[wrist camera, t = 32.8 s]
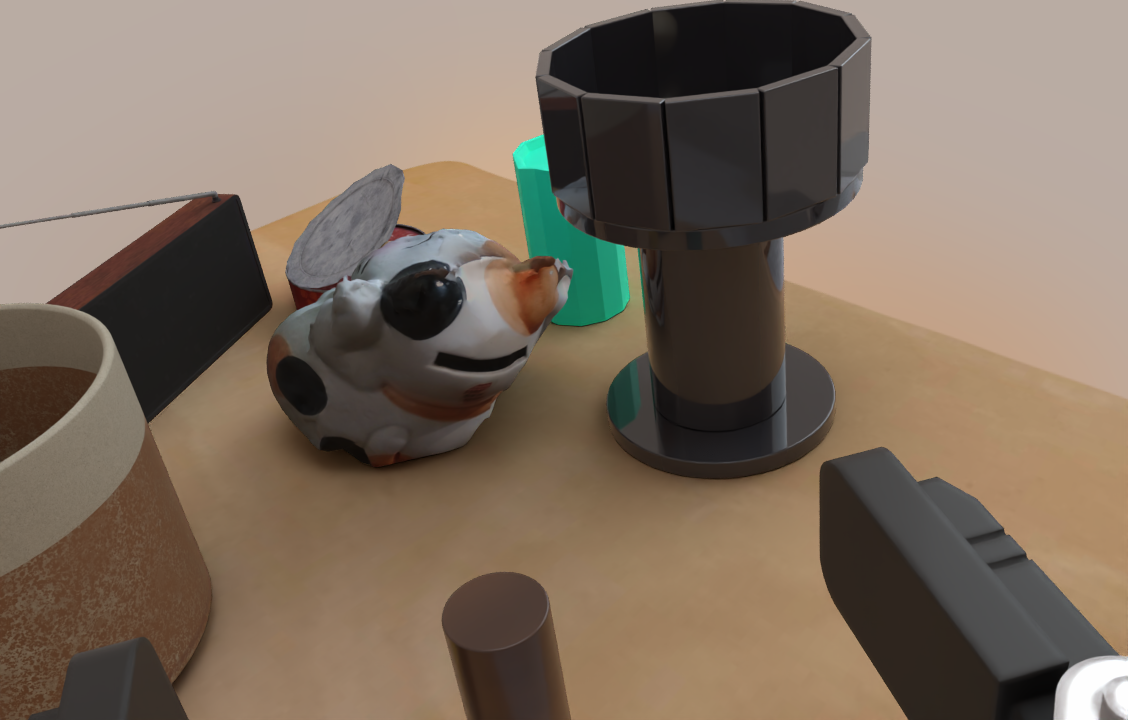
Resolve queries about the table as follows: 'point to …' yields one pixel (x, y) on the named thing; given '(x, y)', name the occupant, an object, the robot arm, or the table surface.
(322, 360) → the lucky cat figurine
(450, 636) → the stick
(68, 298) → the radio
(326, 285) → the canned food
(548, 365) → the table surface
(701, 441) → the bowl
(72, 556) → the planter
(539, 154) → the candle
